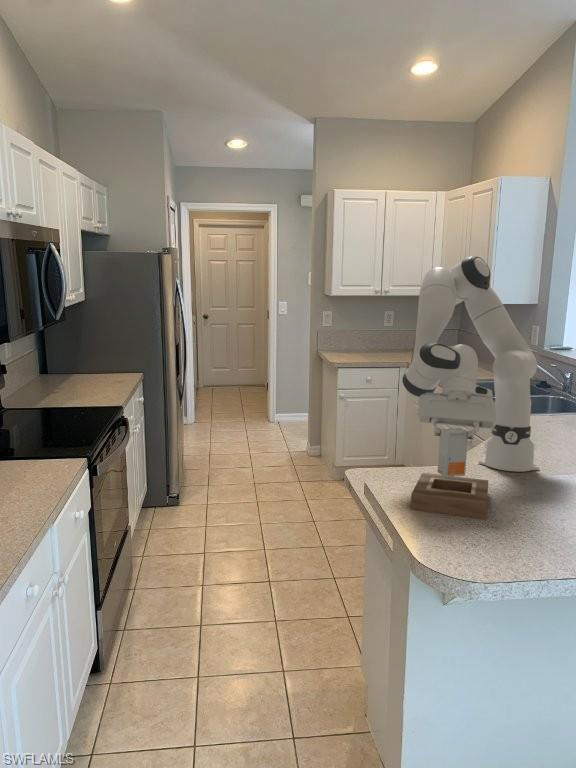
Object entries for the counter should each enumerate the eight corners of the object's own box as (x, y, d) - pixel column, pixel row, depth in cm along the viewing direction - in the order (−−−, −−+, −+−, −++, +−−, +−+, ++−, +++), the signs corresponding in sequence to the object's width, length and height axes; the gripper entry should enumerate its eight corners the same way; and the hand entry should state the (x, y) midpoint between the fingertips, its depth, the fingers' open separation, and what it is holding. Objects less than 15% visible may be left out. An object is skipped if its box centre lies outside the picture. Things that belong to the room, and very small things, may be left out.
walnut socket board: (421, 486, 166) (422, 471, 165) (487, 494, 160) (488, 479, 159) (410, 509, 145) (411, 492, 145) (485, 519, 139) (487, 502, 139)
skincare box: (445, 477, 149) (448, 431, 148) (437, 473, 153) (439, 428, 152) (466, 476, 151) (468, 430, 150) (456, 471, 155) (459, 427, 154)
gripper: (419, 385, 159) (412, 425, 151) (498, 390, 153) (495, 433, 145) (420, 399, 164) (413, 439, 156) (497, 405, 157) (493, 447, 149)
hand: (453, 436), depth 150 cm, fingers closed on skincare box, 7 cm apart
